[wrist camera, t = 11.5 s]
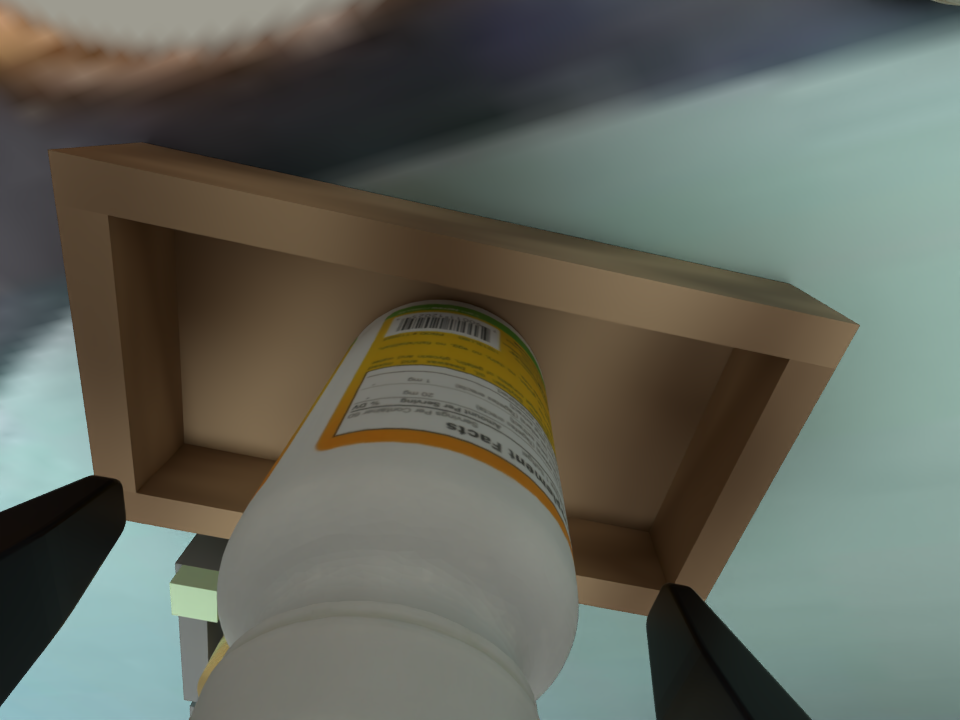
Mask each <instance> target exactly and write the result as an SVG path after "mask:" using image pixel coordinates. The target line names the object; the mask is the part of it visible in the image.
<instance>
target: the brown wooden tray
mask: <svg viewBox="0 0 960 720" xmlns="http://www.w3.org/2000/svg"><path fill="white" fill-rule="evenodd" d="M48 155H49V162H50V169H51V176H52V183H53V190H54V197H55V204H56V211H57V218H58V225H59V232H60V239H61V246H62V253H63V260H64V267H65V274H66V281H67V288H68V295H69V302H70V309H71V316H72V323H73V330H74V337H75V344H76V351H77V358H78V365H79V372H80V379H81V386H82V393H83V400H84V407H85V414H86V421H87V428H88V435H89V442H90V449H91V456H92V463H93V470H94V475H98V476H104V477H109V478H114V479H117V480H119V481H120V482H121V483H122V486H123V493H124V501H125V510H126V521H132V522H137V523H143V524H148V525H154V526H159V527H165V528H170V529H175V530H181V531H186V532H192V533H197V534H203V535H208V536H214V537H219V538H225V539H230V537H231V535H232V533H233V531H234V529H235V527H236V525H237V523H238V522H239V520H240V518H241V516H242V515H243V513H244V511H245V509H246V508H247V506H248V504H249V503H250V501H251V499H252V498H253V496H254V494H255V493H256V491H257V490H258V488H259V487H260V485H261V483H262V482H263V480H264V479H265V477H266V476H267V474H268V473H269V471H270V470H271V468H272V467H273V465H274V464H275V462H276V461H277V459H278V458H279V456H280V455H281V453H282V451H283V450H284V448H285V447H286V445H287V444H288V442H289V441H290V439H291V438H292V436H293V435H294V433H295V432H296V430H297V429H298V427H299V425H300V424H301V422H302V421H303V419H304V418H305V416H306V415H307V413H308V412H309V410H310V408H311V407H312V405H313V404H314V402H315V401H316V399H317V398H318V396H319V395H320V393H321V392H322V390H323V388H324V387H325V385H326V384H327V382H328V380H329V379H330V377H331V376H332V374H333V373H334V371H335V370H336V368H337V366H338V365H339V363H340V362H341V360H342V359H343V357H344V355H345V354H346V352H347V351H348V349H349V348H350V346H351V345H352V344H353V342H354V341H355V340H356V339H357V337H358V336H359V335H360V334H361V332H362V331H363V330H364V329H365V328H366V327H367V326H368V325H369V324H371V323H372V322H373V321H374V320H376V319H377V318H378V317H380V316H382V315H383V314H385V313H387V312H389V311H391V310H393V309H395V308H397V307H400V306H403V305H406V304H409V303H413V302H418V301H423V300H452V301H458V302H463V303H467V304H471V305H474V306H476V307H479V308H482V309H484V310H486V311H488V312H490V313H492V314H494V315H496V316H498V317H499V318H501V319H502V320H504V321H505V322H506V323H508V324H509V325H510V326H512V327H513V328H514V329H515V330H516V331H517V332H518V333H519V334H520V335H521V336H522V337H523V339H524V340H525V341H526V343H527V344H528V345H529V347H530V348H531V350H532V352H533V354H534V356H535V358H536V360H537V362H538V364H539V367H540V370H541V373H542V376H543V381H544V385H545V389H546V395H547V402H548V408H549V414H550V420H551V426H552V433H553V439H554V445H555V452H556V458H557V464H558V470H559V476H560V482H561V487H562V493H563V499H564V505H565V511H566V516H567V522H568V529H569V535H570V540H571V545H572V552H573V559H574V566H575V573H576V581H577V590H578V602H579V604H584V605H590V606H595V607H601V608H606V609H611V610H617V611H622V612H628V613H633V614H639V615H644V616H648V614H649V611H650V609H651V607H652V605H653V603H654V601H655V599H656V597H657V595H658V593H659V592H660V590H661V588H662V586H663V585H664V584H666V583H675V584H680V585H685V586H689V587H691V588H692V589H693V590H694V591H695V592H696V593H697V594H698V595H699V596H700V597H701V598H702V600H703V601H704V602H705V600H706V598H707V596H708V595H709V593H710V591H711V589H712V588H713V586H714V584H715V582H716V580H717V579H718V577H719V575H720V573H721V572H722V570H723V568H724V566H725V564H726V563H727V561H728V559H729V557H730V556H731V554H732V552H733V550H734V548H735V547H736V545H737V543H738V541H739V540H740V538H741V536H742V534H743V532H744V531H745V529H746V527H747V525H748V524H749V522H750V520H751V518H752V516H753V515H754V513H755V511H756V509H757V508H758V506H759V504H760V502H761V500H762V499H763V497H764V495H765V493H766V491H767V490H768V488H769V486H770V484H771V483H772V481H773V479H774V477H775V475H776V474H777V472H778V470H779V468H780V467H781V465H782V463H783V461H784V459H785V458H786V456H787V454H788V452H789V451H790V449H791V447H792V445H793V443H794V442H795V440H796V438H797V436H798V435H799V433H800V431H801V429H802V427H803V426H804V424H805V422H806V420H807V419H808V417H809V415H810V413H811V411H812V410H813V408H814V406H815V404H816V403H817V401H818V399H819V397H820V395H821V394H822V392H823V390H824V388H825V387H826V385H827V383H828V381H829V379H830V378H831V376H832V374H833V372H834V371H835V369H836V367H837V365H838V363H839V362H840V360H841V358H842V356H843V355H844V353H845V351H846V349H847V347H848V346H849V344H850V342H851V340H852V339H853V337H854V335H855V333H856V331H857V330H858V328H859V326H860V325H859V324H857V323H855V322H854V321H852V320H850V319H849V318H847V317H845V316H843V315H842V314H840V313H838V312H837V311H835V310H833V309H832V308H830V307H828V306H827V305H825V304H823V303H822V302H820V301H818V300H817V299H815V298H813V297H811V296H810V295H808V294H806V293H805V292H803V291H801V290H800V289H798V288H796V287H795V286H793V285H791V284H788V283H783V282H778V281H774V280H769V279H765V278H760V277H756V276H751V275H746V274H742V273H737V272H733V271H728V270H724V269H719V268H714V267H710V266H705V265H701V264H696V263H692V262H687V261H682V260H678V259H673V258H669V257H664V256H660V255H655V254H650V253H646V252H641V251H637V250H632V249H628V248H623V247H618V246H614V245H609V244H605V243H600V242H596V241H591V240H586V239H582V238H577V237H573V236H568V235H564V234H559V233H554V232H550V231H545V230H541V229H536V228H532V227H527V226H522V225H518V224H513V223H509V222H504V221H500V220H495V219H490V218H486V217H481V216H477V215H472V214H468V213H463V212H458V211H454V210H449V209H445V208H440V207H436V206H431V205H426V204H422V203H417V202H413V201H408V200H404V199H399V198H394V197H390V196H385V195H381V194H376V193H371V192H367V191H362V190H358V189H353V188H349V187H344V186H339V185H335V184H330V183H326V182H321V181H317V180H312V179H307V178H303V177H298V176H294V175H289V174H285V173H280V172H275V171H271V170H266V169H262V168H257V167H253V166H248V165H243V164H239V163H234V162H230V161H225V160H221V159H216V158H211V157H207V156H202V155H198V154H193V153H189V152H184V151H179V150H175V149H170V148H166V147H161V146H157V145H152V144H147V143H143V142H141V143H128V144H115V145H102V146H89V147H76V148H63V149H51V150H48Z"/></svg>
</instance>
